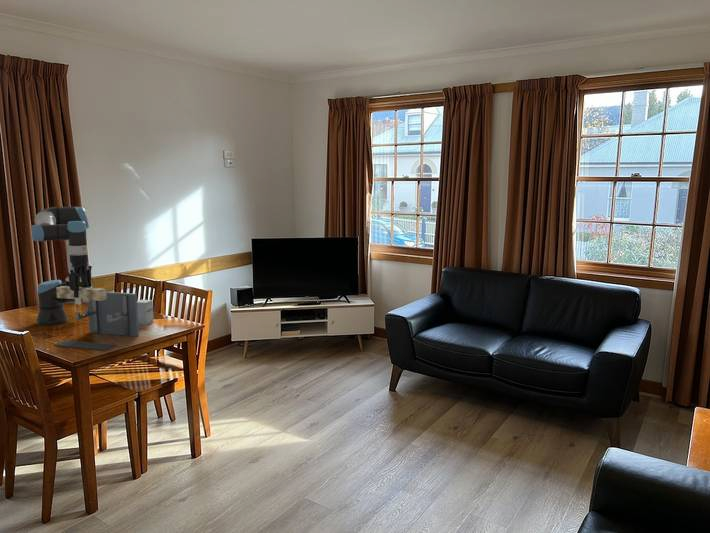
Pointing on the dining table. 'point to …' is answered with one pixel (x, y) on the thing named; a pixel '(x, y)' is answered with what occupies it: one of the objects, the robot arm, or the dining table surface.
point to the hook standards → (108, 316)
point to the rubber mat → (85, 345)
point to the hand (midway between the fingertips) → (82, 302)
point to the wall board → (109, 308)
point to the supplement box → (145, 311)
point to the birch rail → (82, 293)
